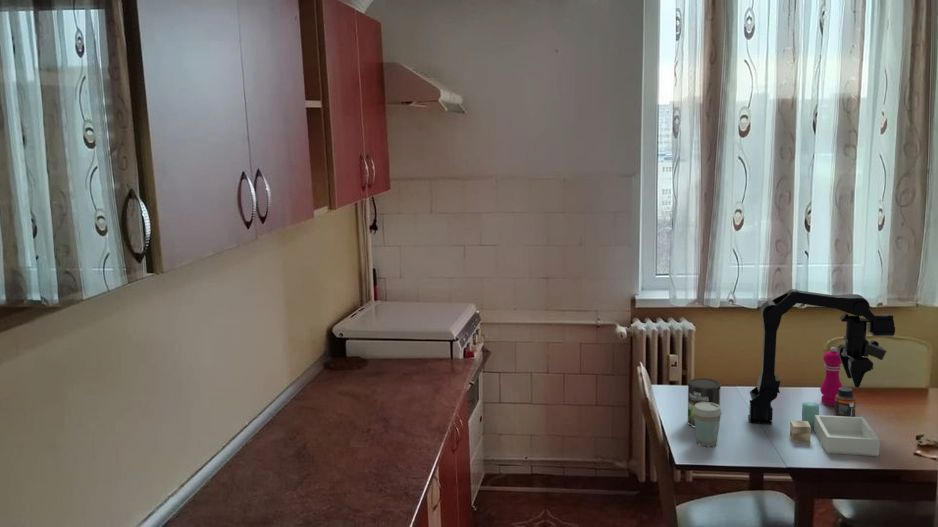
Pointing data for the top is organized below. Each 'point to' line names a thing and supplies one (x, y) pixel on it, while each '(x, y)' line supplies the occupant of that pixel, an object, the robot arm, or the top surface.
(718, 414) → the coffee cup
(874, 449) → the tote
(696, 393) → the coffee can
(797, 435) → the beige rectangular block
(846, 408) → the supplement bottle
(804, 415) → the teal cylinder
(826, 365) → the pepper mill
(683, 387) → the top surface
